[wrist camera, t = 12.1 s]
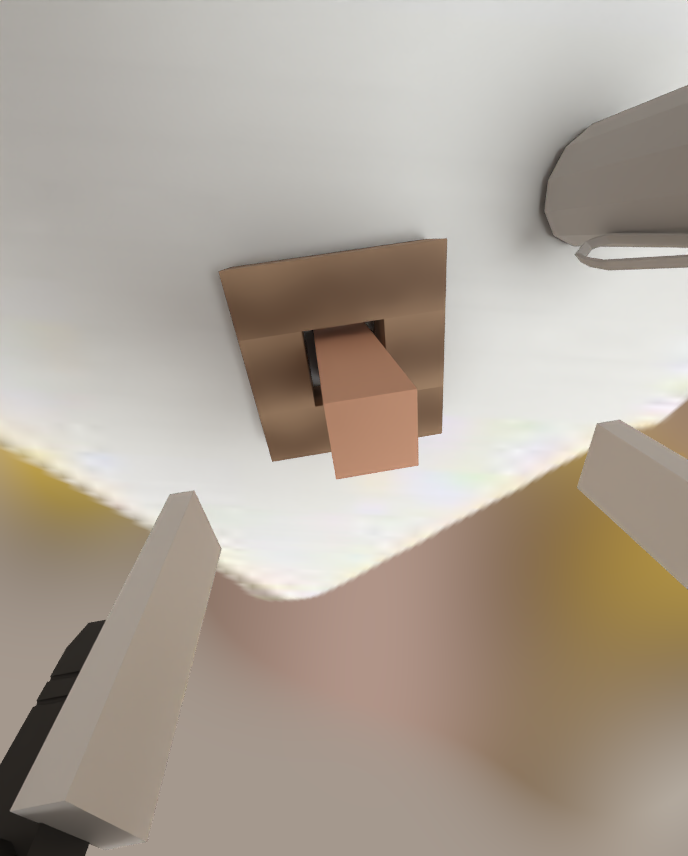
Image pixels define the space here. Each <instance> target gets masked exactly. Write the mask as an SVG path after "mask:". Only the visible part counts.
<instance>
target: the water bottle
mask: <svg viewBox="0 0 688 856" xmlns="http://www.w3.org/2000/svg"><path fill="white" fill-rule="evenodd" d="M544 212H545V215H546V217H547V220H548V222H549V225H550V227H551V230H552V232H553V235H554V236H555V237H557V238H559V239H561V240H562V241H564V242H566V243H568V244H570V245H572V246H581V247H580V249H579V250H578V251H577V252H576V254H575V256H576V257H577V258H578V259H579V260H580V262H582V263H584V264H586V265H588V266H590V267H594V268H599V269H604V270H631V269H658V268H685V267H688V255H677V256H660V257H642V258H625V259H608V260H603V259H597V258H590V257H587V255H588V254H589V252H590V251H591V250H592V249H595V248H597V247H678V248H688V85H687V86H684V87H682V88H679V89H677V90H674V91H672V92H669V93H667V94H665V95H662V96H660V97H657V98H655V99H652V100H650V101H647V102H645V103H642V104H640V105H638V106H635V107H633V108H630V109H628V110H625V111H623V112H620V113H618V114H615V115H613V116H611V117H608V118H606V119H603V120H601V121H598V122H596V123H593V124H592V125H591V126H590V127H588V128H587V129H586V130H585V131H584V132H583V133H581V134H580V135H579V136H578V137H577V138H576V139H574V140H573V141H572V142H571V143H570V144H569V145H567V146H566V147H565V149H564V151H563V153H562V155H561V157H560V159H559V161H558V162H557V164H556V166H555V168H554V170H553V172H552V174H551V176H550V178H549V179H548V184H547V193H546V201H545V210H544Z"/></svg>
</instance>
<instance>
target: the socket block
mask: <svg viewBox="0 0 688 856" xmlns="http://www.w3.org/2000/svg"><path fill="white" fill-rule="evenodd" d="M446 260H447V239H423V240H416V241H409V242H403V243H396V244H389V245H382V246H375V247H368V248H361V249H354V250H347V251H340V252H333V253H326V254H319V255H312V256H306V257H299V258H292V259H285V260H278V261H271V262H264V263H257V264H250V265H243V266H236V267H230V268H227V269H224V270H221V271H219V275H220V279H221V283H222V286H223V290H224V293H225V297H226V300H227V304H228V307H229V311H230V314H231V318H232V321H233V325H234V328H235V332H236V335H237V339H238V343H239V346H240V350H241V353H242V357H243V360H244V364H245V367H246V371H247V374H248V378H249V381H250V385H251V388H252V392H253V395H254V399H255V402H256V406H257V410H258V413H259V417H260V420H261V424H262V427H263V431H264V434H265V438H266V441H267V445H268V448H269V452H270V455H271V459H272V462H273V461H279V460H285V459H291V458H297V457H303V456H309V455H315V454H321V453H327V452H331V446H330V440H329V434H328V428H327V423H326V417H325V411H324V405H323V398H322V391H321V386H315V387H313V381H312V376H311V370H310V365H309V359H308V354H307V348H306V343H305V337H304V332H303V331H308V330H315V329H321V328H328V327H335V326H341V325H348V324H354V323H361V322H367V321H374V330H375V336H376V338H377V339H378V340H379V341H380V343H381V344H382V345H383V346H384V348H385V349H386V350H387V351H388V353H389V354H390V355H391V356H392V358H393V359H394V360H395V361H396V363H397V364H398V365H399V366H400V368H401V369H402V370H403V372H404V373H405V374H406V375H407V377H408V378H409V379H410V380H411V382H412V383H413V384H414V385H415V387H416V388H417V402H418V437H423V436H429V435H435V434H441V433H442V409H443V372H444V334H445V297H446Z"/></svg>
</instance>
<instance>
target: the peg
mask: <svg viewBox="0 0 688 856" xmlns="http://www.w3.org/2000/svg"><path fill="white" fill-rule="evenodd" d="M313 332H314V340H315V347H316V354H317V362H318V369H319V376H320V384H321V391H322V398H323V405H324V411H325V417H326V423H327V428H328V434H329V440H330V446H331V452H332V458H333V463H334V469H335V475H336V479H341V478H347V477H353V476H359V475H365V474H371V473H377V472H383V471H388V470H394V469H400V468H406V467H412V466H418V402H417V388H416V387H415V385H414V384H413V383H412V382H411V380H410V379H409V378H408V377H407V375H406V374H405V373H404V372H403V370H402V369H401V368H400V366H399V365H398V364H397V363H396V361H395V360H394V359H393V358H392V356H391V355H390V354H389V353H388V351H387V350H386V349H385V348H384V346H383V345H382V344H381V343H380V341H379V340H378V339H377V338H376V336H375V335H374V334H373V333H372V331H371V330H370V329H369V328H368V326H367V325H366V324H365V322H361V323H354V324H348V325H341V326H335V327H328V328H321V329H315V330H313Z"/></svg>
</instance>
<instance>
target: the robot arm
mask: <svg viewBox="0 0 688 856" xmlns="http://www.w3.org/2000/svg"><path fill="white" fill-rule="evenodd" d="M577 488H578V489H579V490H580V491H581V492H582V493H583V494H584V495H586V496H587V497H588V498H589V499H590V500H591V501H592V502H593V503H594V504H595V505H596V506H598V507H599V508H600V509H601V510H602V511H603V512H604V513H605V514H606V515H607V516H608V517H610V518H611V519H612V520H613V521H614V522H615V523H616V524H617V525H618V526H619V527H620V528H622V529H623V530H624V531H625V532H626V533H627V534H628V535H629V536H630V537H631V538H632V539H633V540H634V541H636V542H637V543H638V544H639V545H640V546H641V547H642V548H643V549H644V550H645V551H646V552H647V553H649V554H650V555H651V556H652V557H653V558H654V559H655V560H656V561H657V562H658V563H660V564H661V565H662V566H663V567H664V568H665V569H666V570H667V571H668V572H669V573H670V574H671V575H673V576H674V577H675V578H676V579H677V580H678V581H679V582H680V583H681V584H682V585H683V586H685V587H686V588H687V589H688V459H686V458H684V457H682V456H681V455H679V454H677V453H676V452H674V451H672V450H670V449H669V448H667V447H665V446H664V445H662V444H660V443H658V442H656V441H655V440H653V439H652V438H650V437H648V436H646V435H645V434H643V433H641V432H640V431H638V430H636V429H634V428H633V427H631V426H629V425H628V424H626V423H624V422H623V421H621V420H615V421H609V422H603V423H597V425H596V428H595V431H594V435H593V438H592V441H591V444H590V447H589V451H588V454H587V457H586V460H585V463H584V467H583V470H582V473H581V476H580V480H579V483H578V486H577ZM220 553H221V547H220V545H219V543H218V540H217V538H216V536H215V534H214V532H213V530H212V528H211V525H210V523H209V521H208V519H207V517H206V515H205V513H204V510H203V508H202V506H201V504H200V502H199V500H198V497H197V495H196V493H195V491H194V490H193V491H187V492H181V493H175V494H170V495H169V497H168V499H167V501H166V503H165V505H164V507H163V509H162V511H161V513H160V515H159V516H158V518H157V520H156V522H155V524H154V526H153V528H152V530H151V532H150V534H149V536H148V538H147V540H146V542H145V544H144V546H143V548H142V550H141V552H140V554H139V556H138V558H137V560H136V562H135V564H134V566H133V568H132V570H131V572H130V574H129V576H128V578H127V580H126V582H125V584H124V586H123V588H122V590H121V592H120V594H119V596H118V598H117V600H116V602H115V604H114V606H113V608H112V610H111V611H110V613H109V615H108V618H107V619H106V620H102V621H97V622H91V623H88V624H87V625H86V627H85V628H84V629H83V630H82V631H81V632H80V633H79V635H78V636H77V637H76V638H75V639H74V640H73V641H72V642H71V644H70V645H69V646H68V647H67V648H66V650H65V652H64V654H63V655H62V657H61V659H60V660H59V662H58V664H57V666H56V667H55V669H54V671H53V673H52V675H51V680H50V681H49V682H47V683H46V685H45V687H44V688H43V690H42V692H41V694H40V696H39V697H38V699H37V705H36V706H35V707H33V708H32V710H31V711H30V713H29V715H28V717H27V718H26V720H25V722H24V724H23V725H22V727H21V729H20V731H19V733H18V734H17V736H16V738H15V740H14V741H13V743H12V745H11V747H10V748H9V750H8V752H7V754H6V756H5V757H4V759H3V761H2V763H1V764H0V856H85V854H86V851H87V848H88V845H89V844H91V845H93V846H96V847H98V848H101V849H103V850H109V849H114V848H119V847H124V846H129V845H134V844H139V843H144V842H147V841H148V837H149V832H150V829H151V824H152V821H153V817H154V813H155V809H156V805H157V801H158V797H159V793H160V789H161V785H162V781H163V777H164V773H165V770H166V766H167V762H168V758H169V754H170V750H171V746H172V741H173V738H174V734H175V730H176V726H177V722H178V718H179V714H180V710H181V706H182V702H183V698H184V695H185V691H186V687H187V683H188V679H189V675H190V671H191V667H192V662H193V659H194V655H195V651H196V647H197V643H198V639H199V635H200V631H201V627H202V624H203V620H204V616H205V611H206V608H207V604H208V599H209V596H210V592H211V588H212V584H213V580H214V576H215V572H216V568H217V564H218V560H219V557H220Z"/></svg>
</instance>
